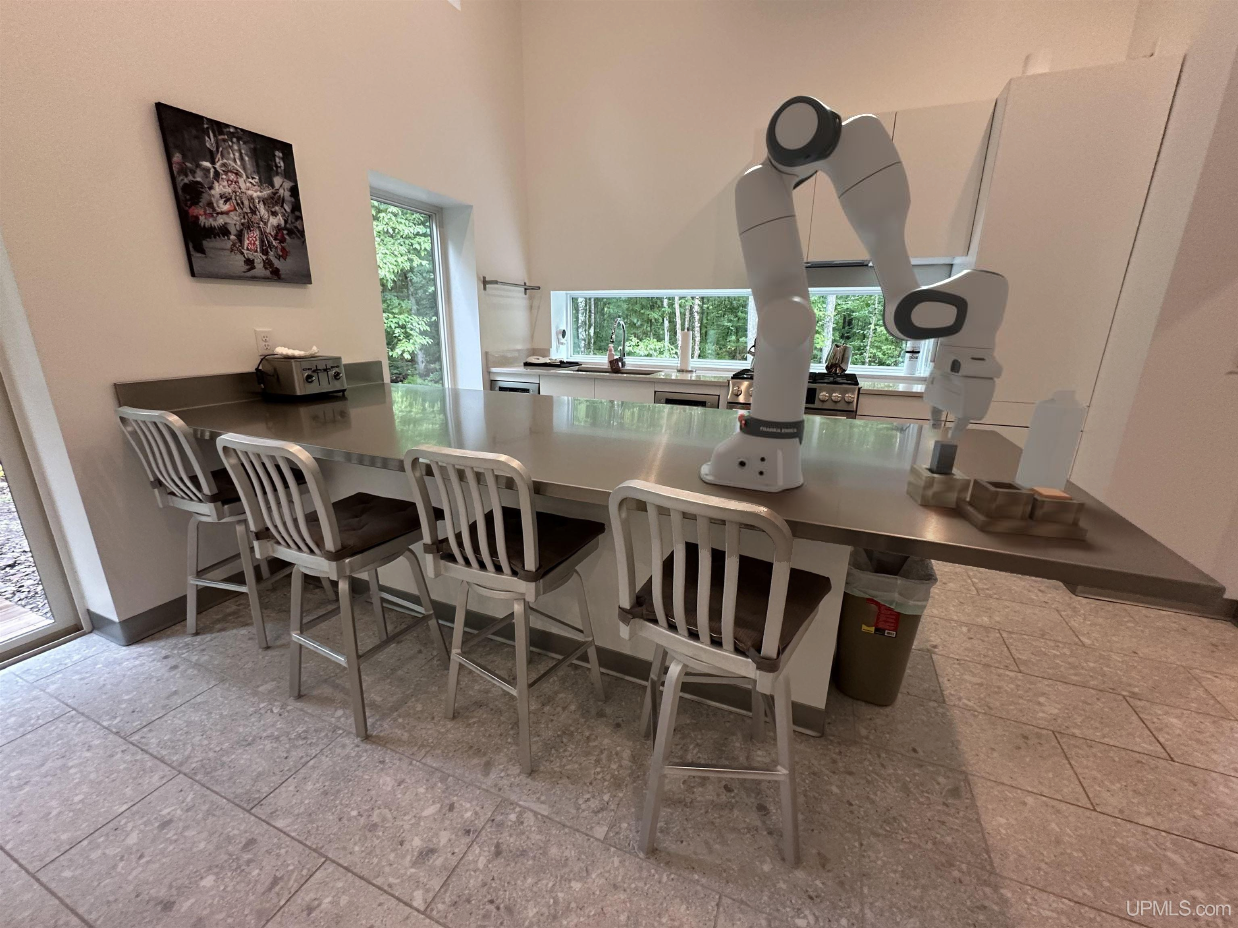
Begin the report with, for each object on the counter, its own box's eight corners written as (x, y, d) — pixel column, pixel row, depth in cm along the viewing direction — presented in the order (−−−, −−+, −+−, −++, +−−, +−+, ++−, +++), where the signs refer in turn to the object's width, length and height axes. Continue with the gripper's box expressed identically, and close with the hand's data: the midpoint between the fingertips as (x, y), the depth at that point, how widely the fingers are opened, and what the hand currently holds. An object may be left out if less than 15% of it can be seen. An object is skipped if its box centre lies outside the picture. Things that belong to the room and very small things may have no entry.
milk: (1012, 488, 110) (1037, 387, 104) (1033, 486, 111) (1059, 387, 105) (1041, 498, 104) (1069, 392, 98) (1063, 496, 106) (1092, 391, 99)
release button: (1038, 515, 88) (1044, 494, 87) (1025, 507, 92) (1031, 487, 90) (1064, 518, 87) (1071, 496, 86) (1050, 509, 91) (1056, 488, 90)
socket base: (979, 530, 88) (988, 492, 86) (955, 509, 97) (963, 475, 95) (1085, 540, 85) (1097, 501, 83) (1049, 517, 94) (1059, 482, 92)
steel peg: (928, 501, 101) (941, 443, 98) (923, 496, 104) (934, 440, 100) (945, 502, 100) (958, 444, 97) (939, 497, 103) (951, 441, 100)
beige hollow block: (919, 504, 99) (925, 475, 97) (906, 491, 107) (911, 464, 105) (964, 508, 98) (971, 479, 96) (947, 494, 105) (953, 467, 103)
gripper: (923, 356, 105) (908, 421, 109) (967, 366, 85) (947, 444, 90) (957, 358, 103) (940, 424, 108) (1008, 369, 84) (986, 448, 88)
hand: (943, 433), depth 98 cm, fingers open, 8 cm apart
